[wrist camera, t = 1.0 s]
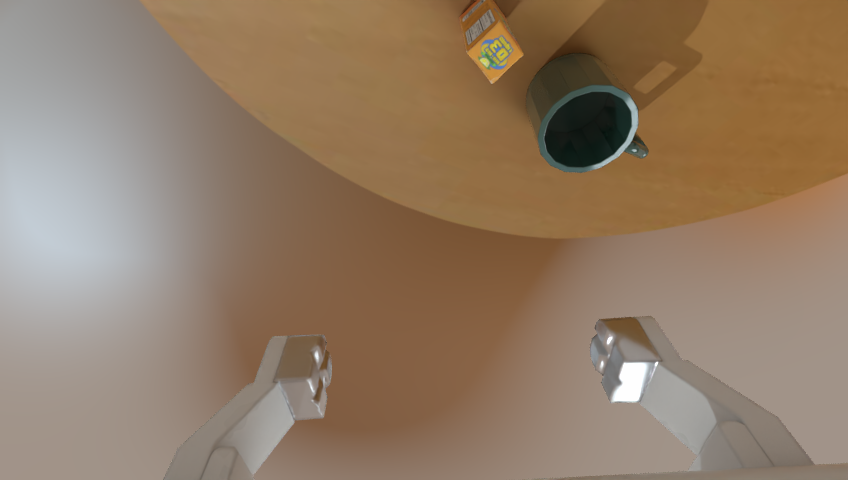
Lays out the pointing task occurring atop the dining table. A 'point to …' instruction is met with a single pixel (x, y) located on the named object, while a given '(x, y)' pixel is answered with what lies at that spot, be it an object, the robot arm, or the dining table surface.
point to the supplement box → (489, 39)
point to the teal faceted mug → (582, 114)
